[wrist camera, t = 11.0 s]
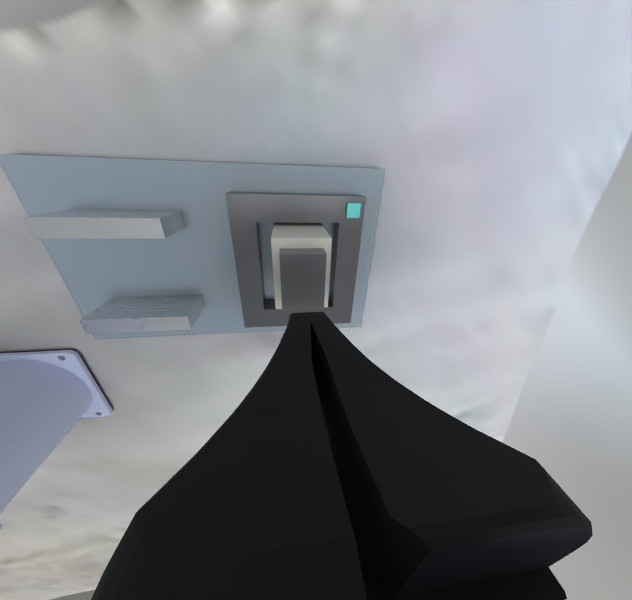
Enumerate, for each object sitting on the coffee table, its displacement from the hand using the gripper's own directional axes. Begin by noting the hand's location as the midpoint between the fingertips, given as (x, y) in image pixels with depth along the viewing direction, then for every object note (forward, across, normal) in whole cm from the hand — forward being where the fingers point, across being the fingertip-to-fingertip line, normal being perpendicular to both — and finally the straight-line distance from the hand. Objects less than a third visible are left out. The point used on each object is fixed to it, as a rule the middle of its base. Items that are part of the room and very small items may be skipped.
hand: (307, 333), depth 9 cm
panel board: (+9, +5, 0) cm, 11 cm away
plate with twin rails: (+8, +10, 0) cm, 13 cm away
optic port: (+8, 0, 0) cm, 8 cm away
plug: (+8, 0, -1) cm, 8 cm away
